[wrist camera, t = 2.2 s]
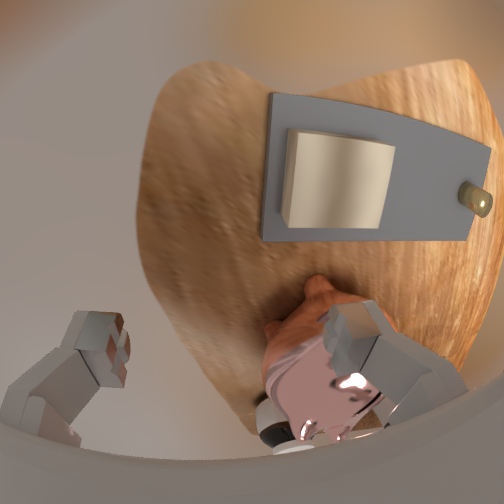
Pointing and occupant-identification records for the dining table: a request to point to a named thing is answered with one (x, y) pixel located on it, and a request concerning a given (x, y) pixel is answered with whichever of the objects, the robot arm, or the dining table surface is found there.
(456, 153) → the board
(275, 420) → the spread jar
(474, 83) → the dining table surface
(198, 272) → the dining table surface
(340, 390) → the piggy bank
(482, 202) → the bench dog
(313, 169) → the beige flat block
